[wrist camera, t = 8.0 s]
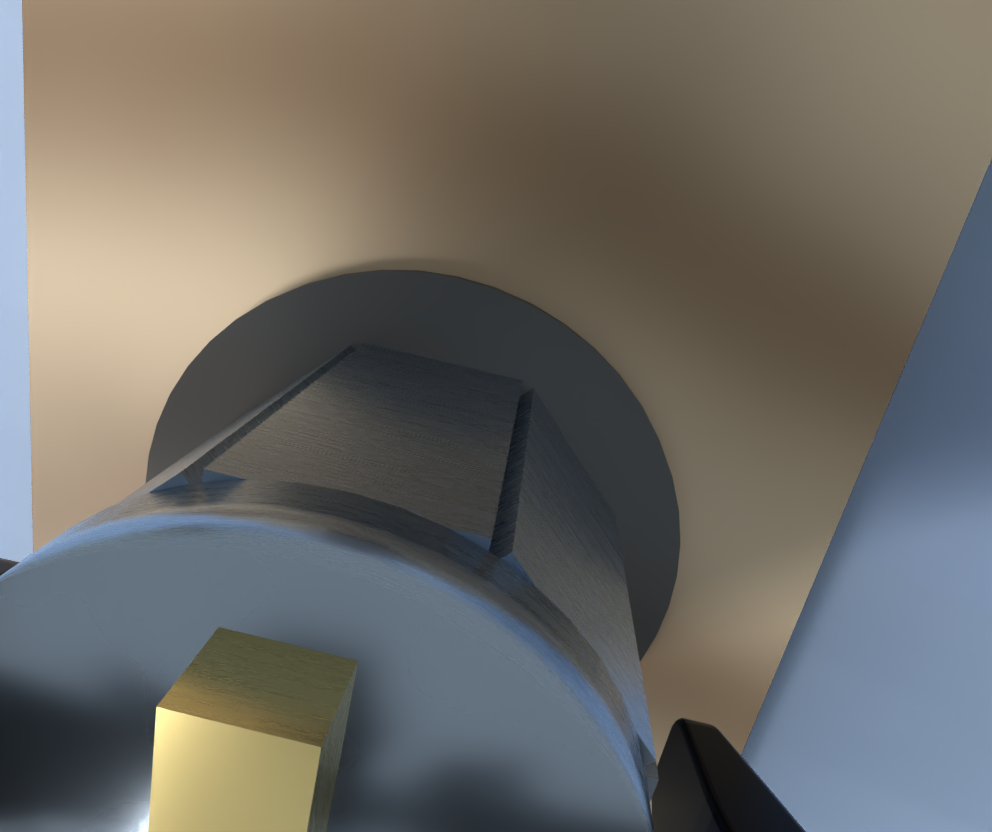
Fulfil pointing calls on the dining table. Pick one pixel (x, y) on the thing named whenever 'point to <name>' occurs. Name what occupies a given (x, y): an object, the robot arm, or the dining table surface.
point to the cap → (336, 628)
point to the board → (514, 253)
